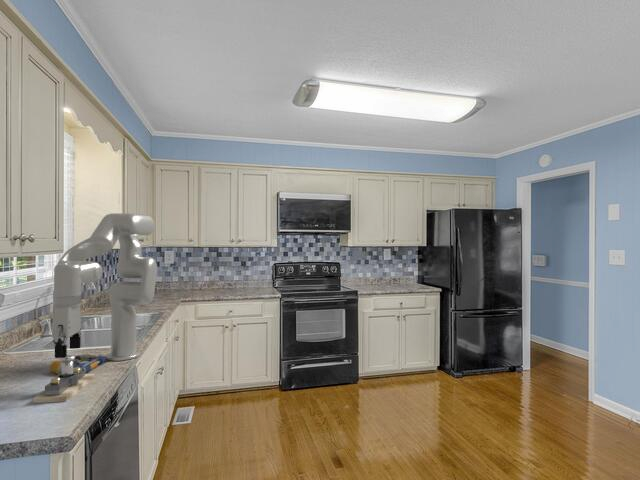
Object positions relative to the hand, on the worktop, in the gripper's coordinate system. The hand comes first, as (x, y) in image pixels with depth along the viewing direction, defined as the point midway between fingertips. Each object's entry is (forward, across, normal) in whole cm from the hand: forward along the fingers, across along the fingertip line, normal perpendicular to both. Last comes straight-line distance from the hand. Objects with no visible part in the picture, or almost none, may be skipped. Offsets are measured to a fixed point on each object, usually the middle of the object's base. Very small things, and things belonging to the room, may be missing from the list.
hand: (68, 352), depth 123 cm
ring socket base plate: (+12, +1, 0) cm, 12 cm away
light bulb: (+10, 0, 0) cm, 10 cm away
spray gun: (+13, -20, -6) cm, 25 cm away
